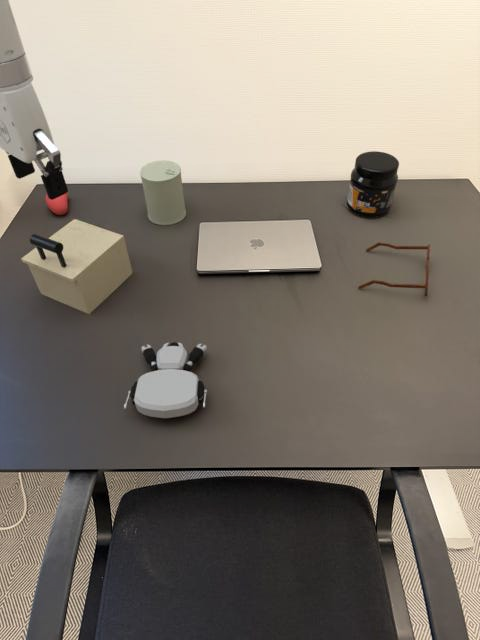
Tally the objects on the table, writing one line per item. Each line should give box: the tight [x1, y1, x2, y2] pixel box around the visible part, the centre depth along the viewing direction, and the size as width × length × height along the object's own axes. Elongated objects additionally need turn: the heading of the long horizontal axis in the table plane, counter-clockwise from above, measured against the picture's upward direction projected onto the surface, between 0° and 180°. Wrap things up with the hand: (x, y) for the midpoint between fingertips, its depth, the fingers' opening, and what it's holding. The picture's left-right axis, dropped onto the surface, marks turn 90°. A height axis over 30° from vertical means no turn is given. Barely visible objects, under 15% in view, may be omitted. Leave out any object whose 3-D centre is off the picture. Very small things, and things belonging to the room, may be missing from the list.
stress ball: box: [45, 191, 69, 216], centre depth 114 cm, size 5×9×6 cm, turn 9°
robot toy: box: [123, 341, 208, 419], centre depth 76 cm, size 12×4×15 cm
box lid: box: [20, 218, 125, 282], centre depth 87 cm, size 14×13×6 cm
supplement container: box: [346, 150, 400, 219], centre depth 109 cm, size 10×10×12 cm
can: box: [139, 160, 187, 226], centre depth 108 cm, size 9×9×12 cm
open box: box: [27, 239, 133, 315], centre depth 93 cm, size 14×13×9 cm
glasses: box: [358, 242, 431, 297], centre depth 94 cm, size 13×13×5 cm
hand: (42, 185), depth 75 cm, fingers open, 9 cm apart
